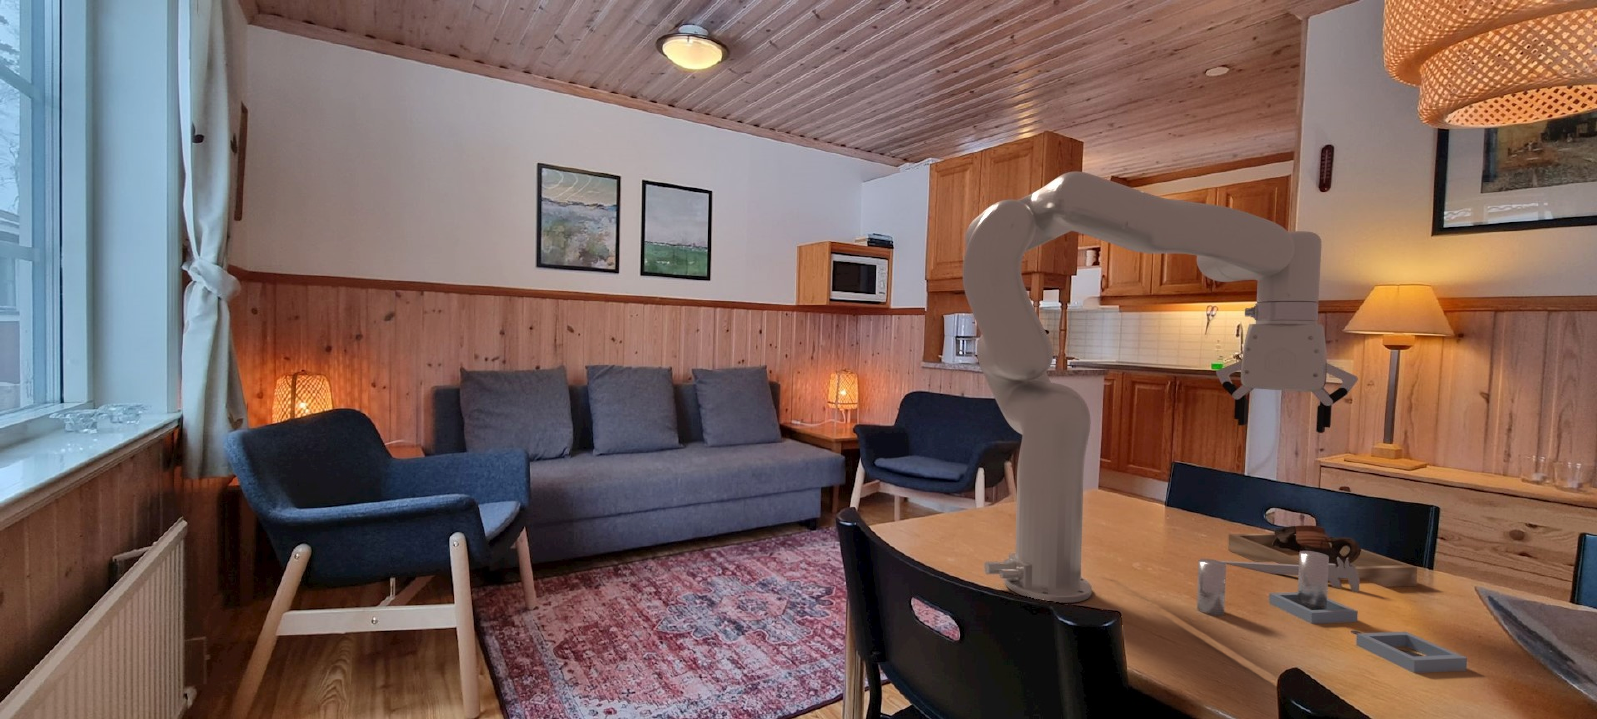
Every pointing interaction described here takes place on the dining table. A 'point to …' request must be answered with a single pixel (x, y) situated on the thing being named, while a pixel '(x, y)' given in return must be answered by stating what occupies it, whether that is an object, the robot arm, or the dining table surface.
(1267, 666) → the dining table surface
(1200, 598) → the steel pin
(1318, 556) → the seated pin
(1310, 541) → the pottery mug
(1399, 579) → the brown elongated piece
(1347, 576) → the caliper
